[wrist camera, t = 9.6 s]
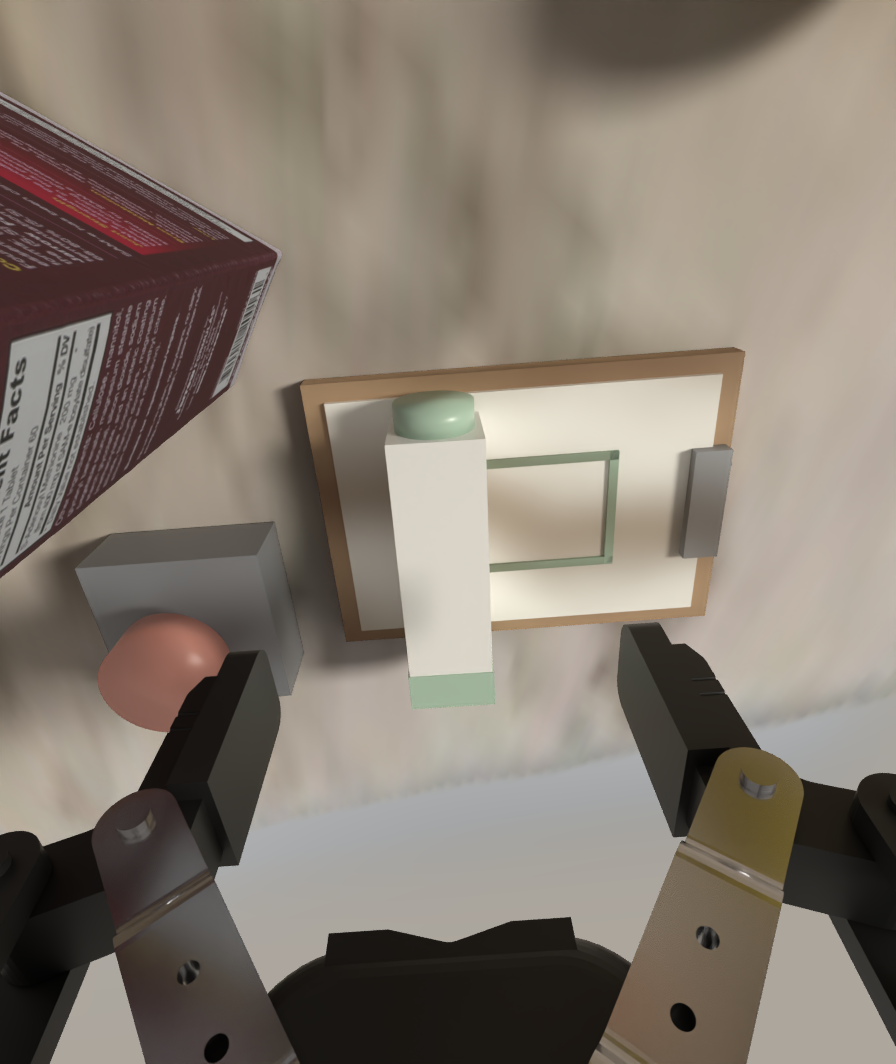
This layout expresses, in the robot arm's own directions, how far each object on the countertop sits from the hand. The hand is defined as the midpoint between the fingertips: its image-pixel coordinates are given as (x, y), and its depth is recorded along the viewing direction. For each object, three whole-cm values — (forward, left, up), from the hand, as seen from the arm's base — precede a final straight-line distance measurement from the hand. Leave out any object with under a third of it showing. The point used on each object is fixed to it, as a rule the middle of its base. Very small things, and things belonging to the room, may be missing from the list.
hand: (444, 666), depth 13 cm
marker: (-4, 0, -7) cm, 8 cm away
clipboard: (0, +3, -9) cm, 9 cm away
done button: (+3, -9, -5) cm, 11 cm away
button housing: (+3, -9, -9) cm, 13 cm away
